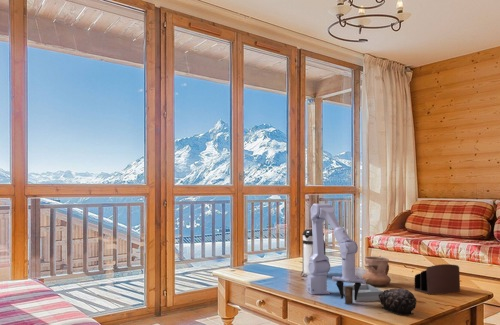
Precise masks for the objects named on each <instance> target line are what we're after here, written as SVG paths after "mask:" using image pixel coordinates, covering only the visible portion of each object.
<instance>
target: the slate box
mask: <svg viewBox="0 0 500 325" xmlns="http://www.w3.org/2000/svg"><path fill="white" fill-rule="evenodd" d="M345 287H352V288H353V302H355V303H356V302H357V303H358V302H373V301H374V302H376V301H380V299H379V294H380V293H383V292H384V290H382V289H379V288H377V287H376V286H373V285H369V284H361V286H360V288H359V291H358V294H357V300H354V295H355V291H354V285H353V284H352V285H350V284H349V285H343V295H344V296H345Z"/></svg>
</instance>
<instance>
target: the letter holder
mask: <svg viewBox="0 0 500 325" xmlns="http://www.w3.org/2000/svg"><path fill="white" fill-rule="evenodd" d="M460 273H461V272H460V266H459V265H457V264H450V263H449V264H446V263H445V264H443V263H442V264H436V265H432V266H427V267H426V269H425V270H423V271H420V273H416V274H415V275H414V288H413V290H414V291H416V292H420V293H422V294H425V295H429V294H430V295H438V294H439V295H441V294H449V293H450V294H451V293H460V292H461V283H460V279H461V278H460V276H461V274H460ZM430 295H429V296H430Z"/></svg>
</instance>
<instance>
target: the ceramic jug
mask: <svg viewBox="0 0 500 325" xmlns="http://www.w3.org/2000/svg"><path fill="white" fill-rule="evenodd" d="M364 263H365V264H364V265H363V267H364V268H367V272H366V273H364V274H363V275H362V277H361V279H366V285H371V286H373V287H383V286H387V285H389V284H390V283H391V281H392V280H391V277H390V276H389V275H388V274H389V270H390V264H389V258H387V257H385V256H384V257H383V256H375V255H374V256H371V255H370V256H365V257H364Z"/></svg>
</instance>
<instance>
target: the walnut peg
mask: <svg viewBox="0 0 500 325" xmlns="http://www.w3.org/2000/svg"><path fill="white" fill-rule="evenodd" d="M344 297H345V298H344V299H345V302H344V303H345V304H346V305H353V302H354V301H353V288H352V287H345V295H344Z"/></svg>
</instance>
